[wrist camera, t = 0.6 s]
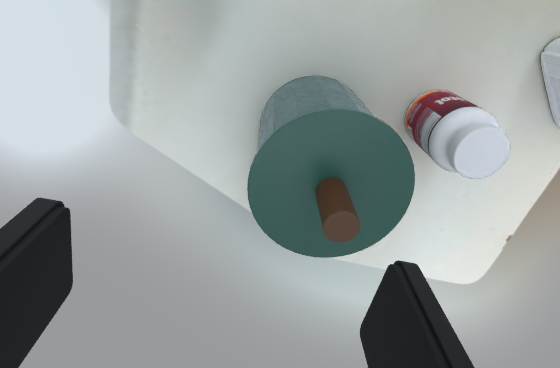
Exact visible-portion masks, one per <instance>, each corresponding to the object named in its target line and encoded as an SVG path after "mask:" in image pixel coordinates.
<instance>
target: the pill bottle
mask: <svg viewBox="0 0 560 368" xmlns="http://www.w3.org/2000/svg"><path fill="white" fill-rule="evenodd" d="M405 127H406V130H407V132H408V134H409V136H410V137H411V138H412V139H413V140H414V141H415V142H416V143H417V144H418V145H419V146H420V147H421V148H422V149H423V150H424V151H425V152H426V153H427V154H428V156H430V157H431V159H432V160H433V161H434V162H435V163H437V164H438V165H439V166H440V167H441V168H443V169H445V170H447V171H450V172H457V173H459V174H460V175H462V176H464V177H466V178H470V179H480V178H484V177H487V176H489V175H491V174H493V173H494V172H496V171H497V170H498V169H500V168H501V167H502V165H503V164H504V163H505V161H506V160H507V158H508V156H509V152H510V141H509V138H508V136H507V135H506V134H505V133H504V132H503V131H502V130H501V129H500V126H499V123H498V121H497V120H496V118H495V117H494V116H493V115H492V114H491V113H489V112H487V111H486V110H484V109H482V108H480V107H478V106H476V105H474V104H472V103H470V102H468V101H466V100H464V99H463V98H461V97H459V96H457V95H455V94H453V93H451V92H449V91H446V90H432V91H428V92H425V93H423V94H422V95H420V96H419V97H417V98H416V99H415V100H414V101H413V102H412V104H411V105H410V107H409V108H408V110H407V113H406V117H405Z"/></svg>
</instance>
